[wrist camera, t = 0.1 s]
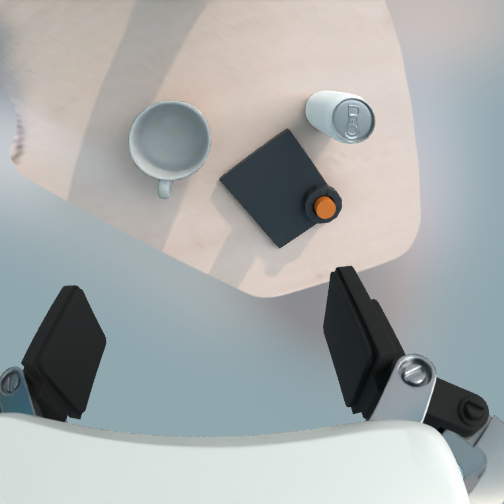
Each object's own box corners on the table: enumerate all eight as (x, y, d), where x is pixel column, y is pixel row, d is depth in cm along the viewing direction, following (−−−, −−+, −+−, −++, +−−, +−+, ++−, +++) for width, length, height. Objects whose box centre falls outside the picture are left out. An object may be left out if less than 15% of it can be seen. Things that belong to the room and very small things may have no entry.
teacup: (156, 90, 37) (141, 91, 31) (224, 110, 40) (223, 116, 33) (132, 172, 44) (115, 189, 37) (194, 192, 47) (187, 212, 40)
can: (303, 129, 42) (326, 144, 32) (305, 88, 39) (329, 90, 29) (342, 131, 43) (375, 148, 32) (345, 92, 39) (380, 98, 29)
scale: (220, 177, 46) (219, 183, 43) (290, 126, 42) (294, 128, 39) (278, 245, 53) (281, 254, 50) (342, 202, 49) (348, 209, 47)
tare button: (309, 203, 46) (312, 208, 45) (326, 192, 45) (329, 196, 44) (320, 217, 48) (322, 222, 46) (336, 207, 47) (339, 211, 45)
